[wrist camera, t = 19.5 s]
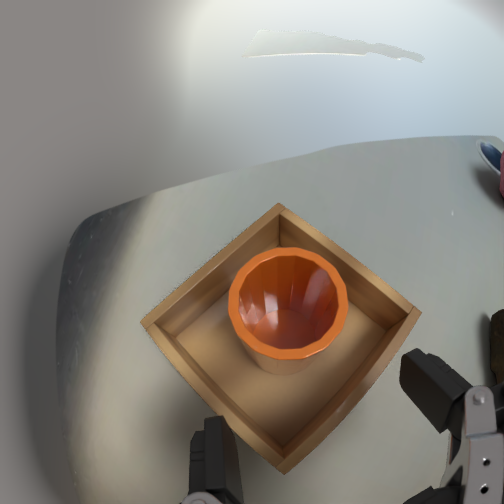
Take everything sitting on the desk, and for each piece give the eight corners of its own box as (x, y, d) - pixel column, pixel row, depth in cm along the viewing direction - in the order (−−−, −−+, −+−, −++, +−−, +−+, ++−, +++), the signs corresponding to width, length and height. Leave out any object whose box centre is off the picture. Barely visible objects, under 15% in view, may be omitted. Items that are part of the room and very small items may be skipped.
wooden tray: (165, 338, 21) (139, 321, 17) (278, 237, 26) (278, 201, 21) (282, 457, 16) (284, 475, 11) (394, 331, 20) (422, 312, 16)
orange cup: (232, 340, 20) (204, 300, 13) (282, 292, 22) (284, 228, 14) (284, 390, 18) (291, 385, 10) (334, 337, 20) (370, 294, 12)
